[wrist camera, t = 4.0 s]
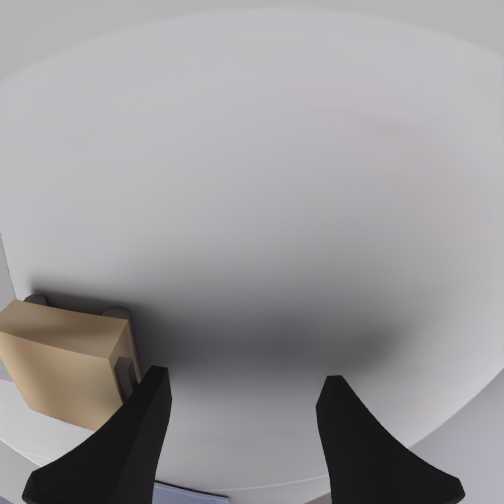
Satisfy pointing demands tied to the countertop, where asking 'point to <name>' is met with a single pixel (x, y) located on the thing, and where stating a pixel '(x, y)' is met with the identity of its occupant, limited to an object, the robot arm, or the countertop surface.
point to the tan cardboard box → (70, 360)
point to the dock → (5, 299)
